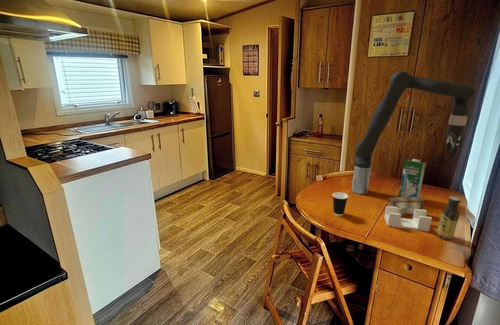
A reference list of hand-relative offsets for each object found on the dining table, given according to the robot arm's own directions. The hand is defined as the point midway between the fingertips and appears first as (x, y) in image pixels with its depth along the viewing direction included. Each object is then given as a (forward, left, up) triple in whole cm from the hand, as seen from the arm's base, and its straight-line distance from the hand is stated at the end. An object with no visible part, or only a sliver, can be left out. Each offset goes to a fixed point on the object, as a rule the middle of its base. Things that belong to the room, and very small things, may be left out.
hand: (450, 152), depth 150 cm
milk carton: (-17, -2, -30) cm, 34 cm away
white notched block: (-26, -34, -30) cm, 52 cm away
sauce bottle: (-12, -42, -30) cm, 53 cm away
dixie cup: (-58, -31, -30) cm, 72 cm away
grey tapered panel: (-24, -23, -30) cm, 44 cm away
